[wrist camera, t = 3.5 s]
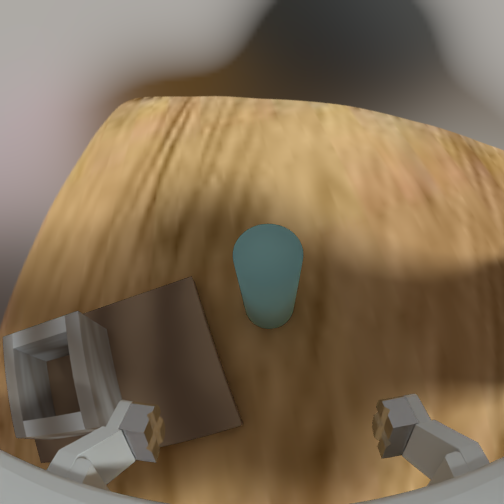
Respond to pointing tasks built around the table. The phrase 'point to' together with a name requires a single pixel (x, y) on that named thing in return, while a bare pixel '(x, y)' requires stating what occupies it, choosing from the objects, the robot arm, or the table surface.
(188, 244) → the table surface
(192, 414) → the walnut socket board
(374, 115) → the table surface
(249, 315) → the teal rounded oblong piece
